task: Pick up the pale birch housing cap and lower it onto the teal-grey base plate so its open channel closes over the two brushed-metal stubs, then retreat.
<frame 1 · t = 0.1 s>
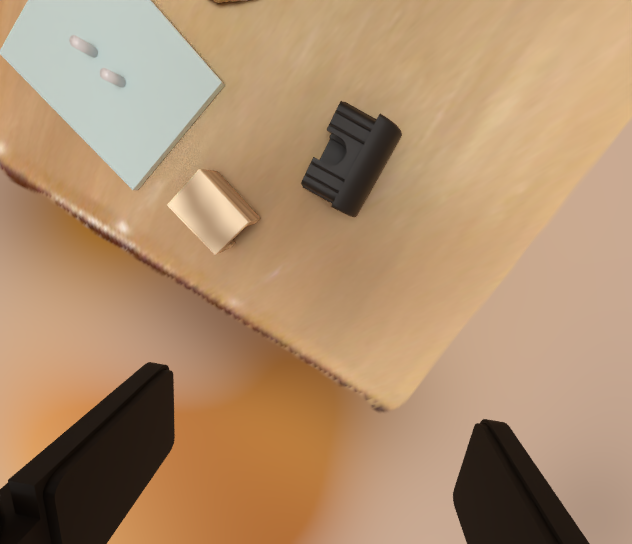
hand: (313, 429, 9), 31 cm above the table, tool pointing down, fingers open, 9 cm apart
base plate: (113, 70, 36), on the table
housing cap: (224, 210, 39), on the table
end cap: (350, 165, 36), on the table
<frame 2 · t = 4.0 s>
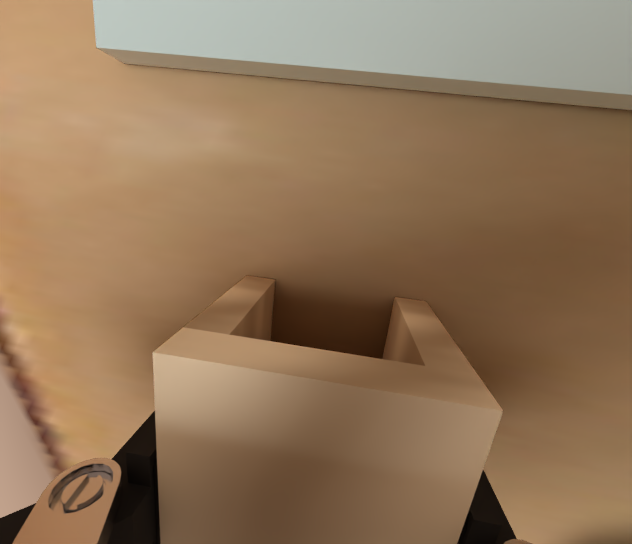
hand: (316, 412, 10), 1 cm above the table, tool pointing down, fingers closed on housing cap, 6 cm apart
housing cap: (320, 389, 11), on the table, touching gripper
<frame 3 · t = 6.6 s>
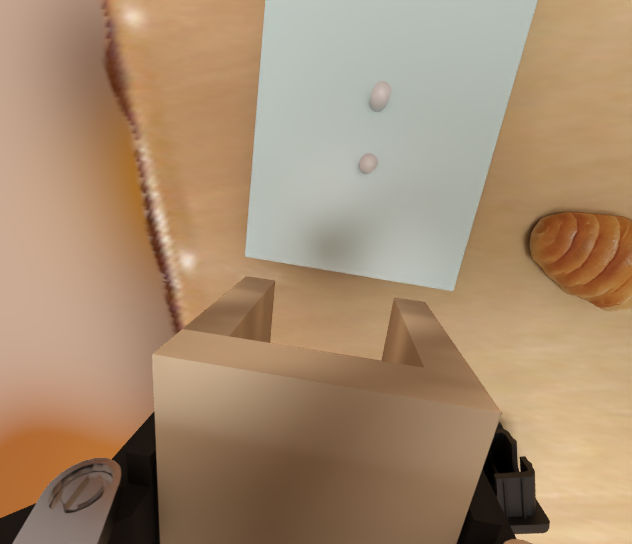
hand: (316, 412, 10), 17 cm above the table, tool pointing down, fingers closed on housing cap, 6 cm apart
base plate: (370, 137, 23), on the table
pastry: (583, 257, 24), on the table
housing cap: (319, 390, 11), point 16 cm above the table, touching gripper
end cap: (453, 449, 30), on the table
when the fingers open (4 cm above the table, at t = 9.7 s): housing cap drops 1 cm, resting on base plate.
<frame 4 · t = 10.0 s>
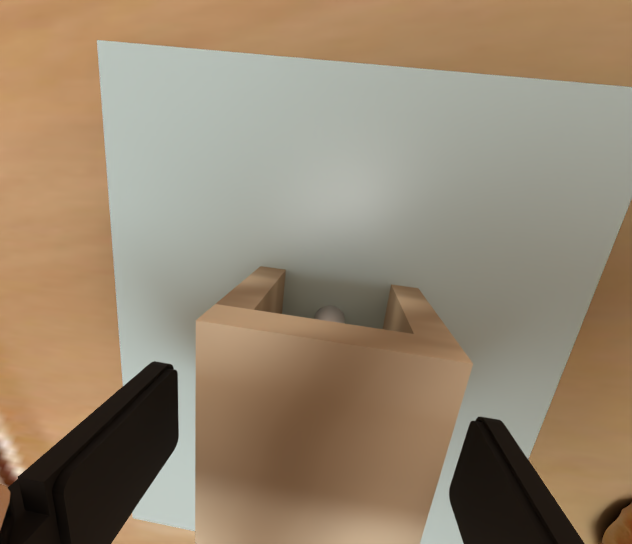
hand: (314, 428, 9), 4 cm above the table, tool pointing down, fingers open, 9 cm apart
base plate: (324, 355, 13), on the table
housing cap: (324, 368, 12), point 1 cm above the table, touching base plate
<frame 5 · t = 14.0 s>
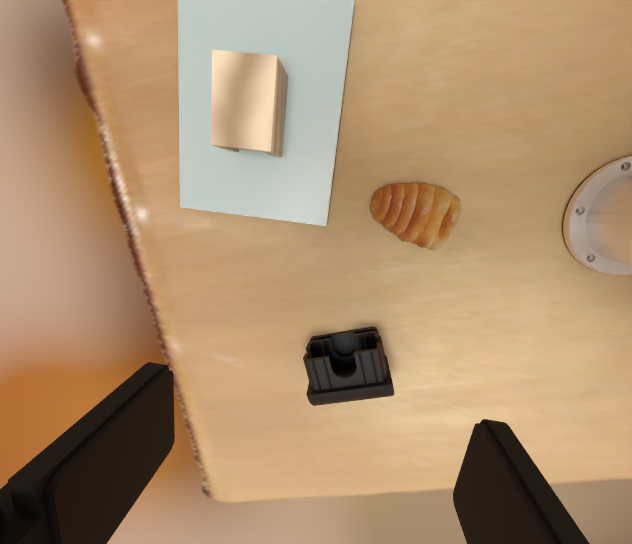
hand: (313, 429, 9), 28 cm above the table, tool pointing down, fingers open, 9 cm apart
base plate: (260, 117, 33), on the table
pastry: (414, 214, 35), on the table
housing cap: (258, 115, 32), point 1 cm above the table, touching base plate
end cap: (347, 354, 40), on the table
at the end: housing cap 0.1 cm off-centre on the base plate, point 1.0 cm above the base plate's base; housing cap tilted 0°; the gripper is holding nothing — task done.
